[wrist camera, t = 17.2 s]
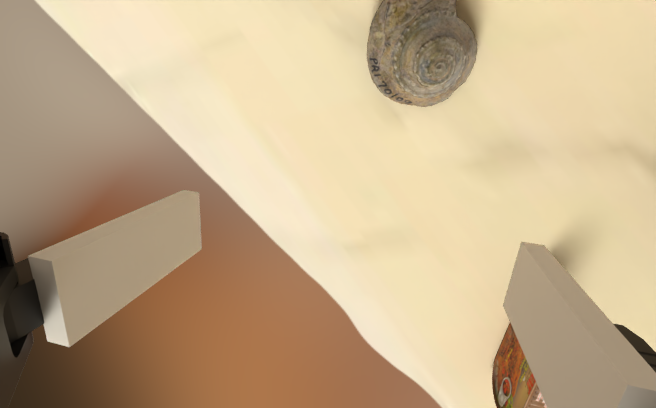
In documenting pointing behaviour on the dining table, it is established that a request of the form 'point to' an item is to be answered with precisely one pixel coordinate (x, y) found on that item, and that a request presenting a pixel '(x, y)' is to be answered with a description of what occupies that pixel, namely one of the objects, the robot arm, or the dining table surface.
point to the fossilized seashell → (419, 50)
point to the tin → (514, 377)
